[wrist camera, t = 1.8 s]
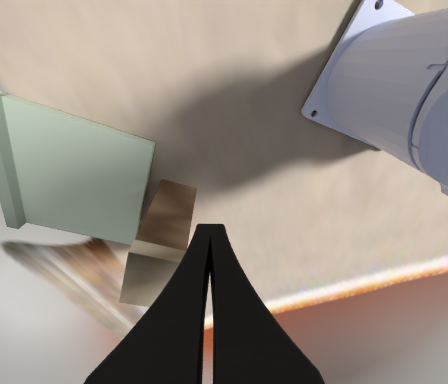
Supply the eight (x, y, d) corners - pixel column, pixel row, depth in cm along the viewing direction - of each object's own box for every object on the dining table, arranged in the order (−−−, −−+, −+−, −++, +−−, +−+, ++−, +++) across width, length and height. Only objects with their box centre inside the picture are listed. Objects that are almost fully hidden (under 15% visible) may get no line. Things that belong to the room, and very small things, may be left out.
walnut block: (196, 188, 21) (185, 263, 13) (182, 230, 24) (165, 309, 16) (161, 178, 20) (128, 251, 13) (151, 222, 23) (119, 302, 16)
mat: (155, 142, 18) (150, 150, 16) (135, 240, 25) (130, 252, 23) (-5, 89, 15) (-29, 92, 14) (21, 214, 22) (7, 226, 20)
